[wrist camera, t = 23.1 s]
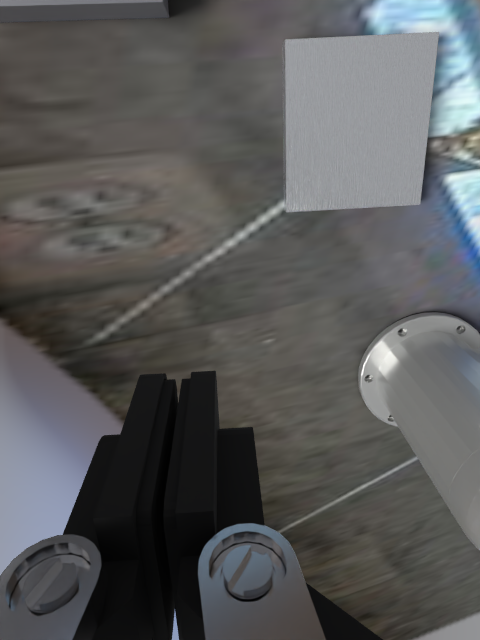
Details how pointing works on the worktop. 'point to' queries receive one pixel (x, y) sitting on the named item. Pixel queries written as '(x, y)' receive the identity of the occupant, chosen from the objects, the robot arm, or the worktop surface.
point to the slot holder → (80, 10)
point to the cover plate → (356, 120)
